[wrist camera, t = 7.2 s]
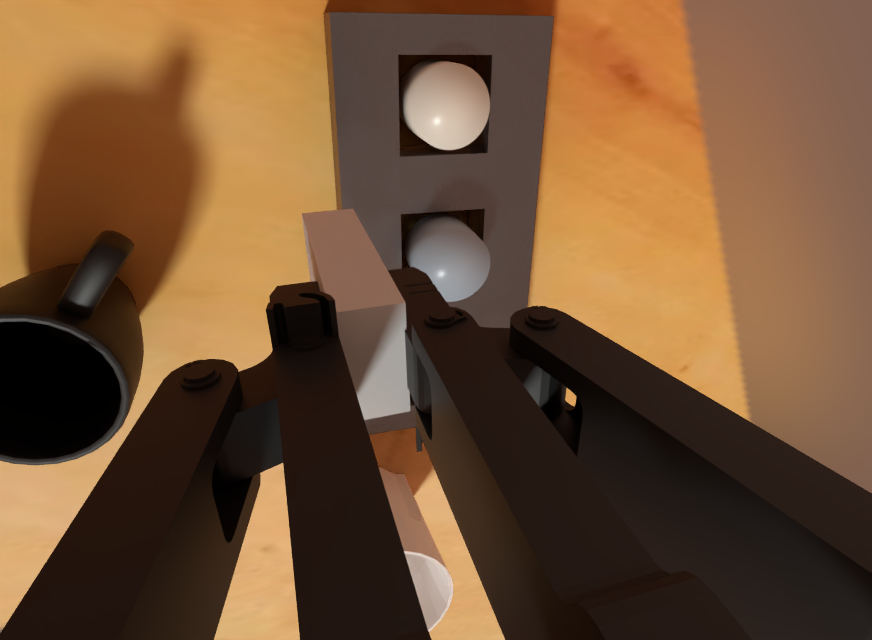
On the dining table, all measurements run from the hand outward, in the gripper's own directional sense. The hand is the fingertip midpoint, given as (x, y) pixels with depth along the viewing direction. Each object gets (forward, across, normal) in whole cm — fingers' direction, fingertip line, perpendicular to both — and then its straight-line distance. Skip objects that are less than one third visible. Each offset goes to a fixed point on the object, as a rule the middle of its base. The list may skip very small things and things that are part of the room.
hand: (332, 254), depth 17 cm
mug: (+19, -12, -7) cm, 24 cm away
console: (+18, +8, -7) cm, 21 cm away
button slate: (+16, +8, -7) cm, 20 cm away
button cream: (+18, +8, +2) cm, 20 cm away
